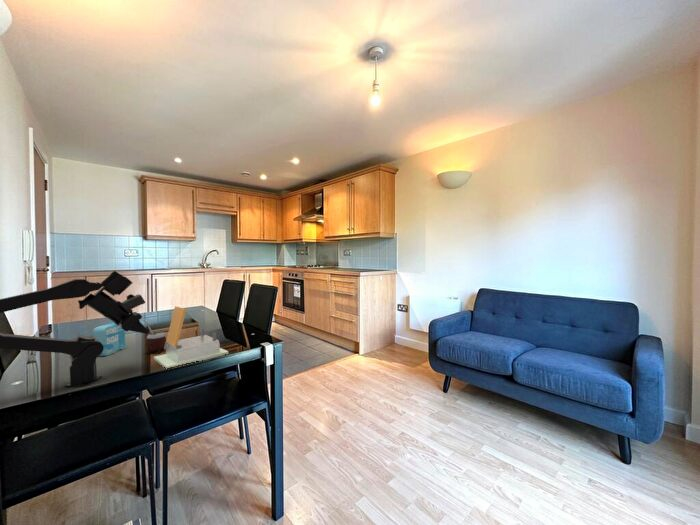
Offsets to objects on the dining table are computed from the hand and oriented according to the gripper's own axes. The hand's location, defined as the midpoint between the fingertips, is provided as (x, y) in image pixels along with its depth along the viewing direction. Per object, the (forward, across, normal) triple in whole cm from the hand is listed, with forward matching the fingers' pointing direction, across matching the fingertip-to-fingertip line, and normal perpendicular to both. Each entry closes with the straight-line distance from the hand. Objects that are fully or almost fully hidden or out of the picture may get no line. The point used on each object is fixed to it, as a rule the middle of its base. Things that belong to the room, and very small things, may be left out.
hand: (147, 332), depth 106 cm
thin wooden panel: (+6, 0, -7) cm, 10 cm away
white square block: (+19, 0, -2) cm, 19 cm away
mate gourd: (+14, +19, +5) cm, 24 cm away
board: (+19, 0, -1) cm, 19 cm away
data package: (+5, +35, +14) cm, 38 cm away
